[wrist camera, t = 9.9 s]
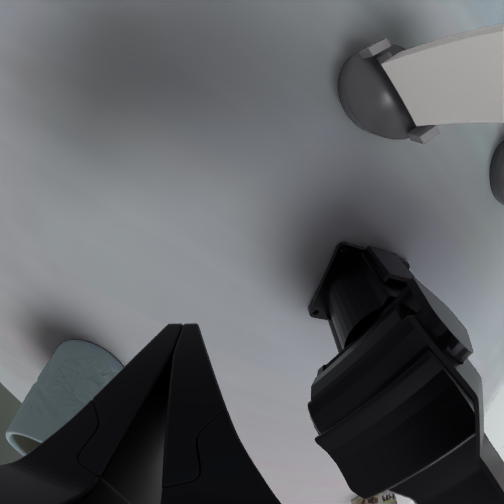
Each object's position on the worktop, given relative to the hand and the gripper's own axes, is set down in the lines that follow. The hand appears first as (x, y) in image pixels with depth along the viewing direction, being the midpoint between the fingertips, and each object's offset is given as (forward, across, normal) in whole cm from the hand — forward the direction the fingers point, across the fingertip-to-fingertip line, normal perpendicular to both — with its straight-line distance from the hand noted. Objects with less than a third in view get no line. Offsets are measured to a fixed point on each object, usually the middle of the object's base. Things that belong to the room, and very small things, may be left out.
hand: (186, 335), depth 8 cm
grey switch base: (+13, -11, -7) cm, 18 cm away
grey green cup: (+13, +15, +17) cm, 26 cm away
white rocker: (+11, -11, -7) cm, 17 cm away
